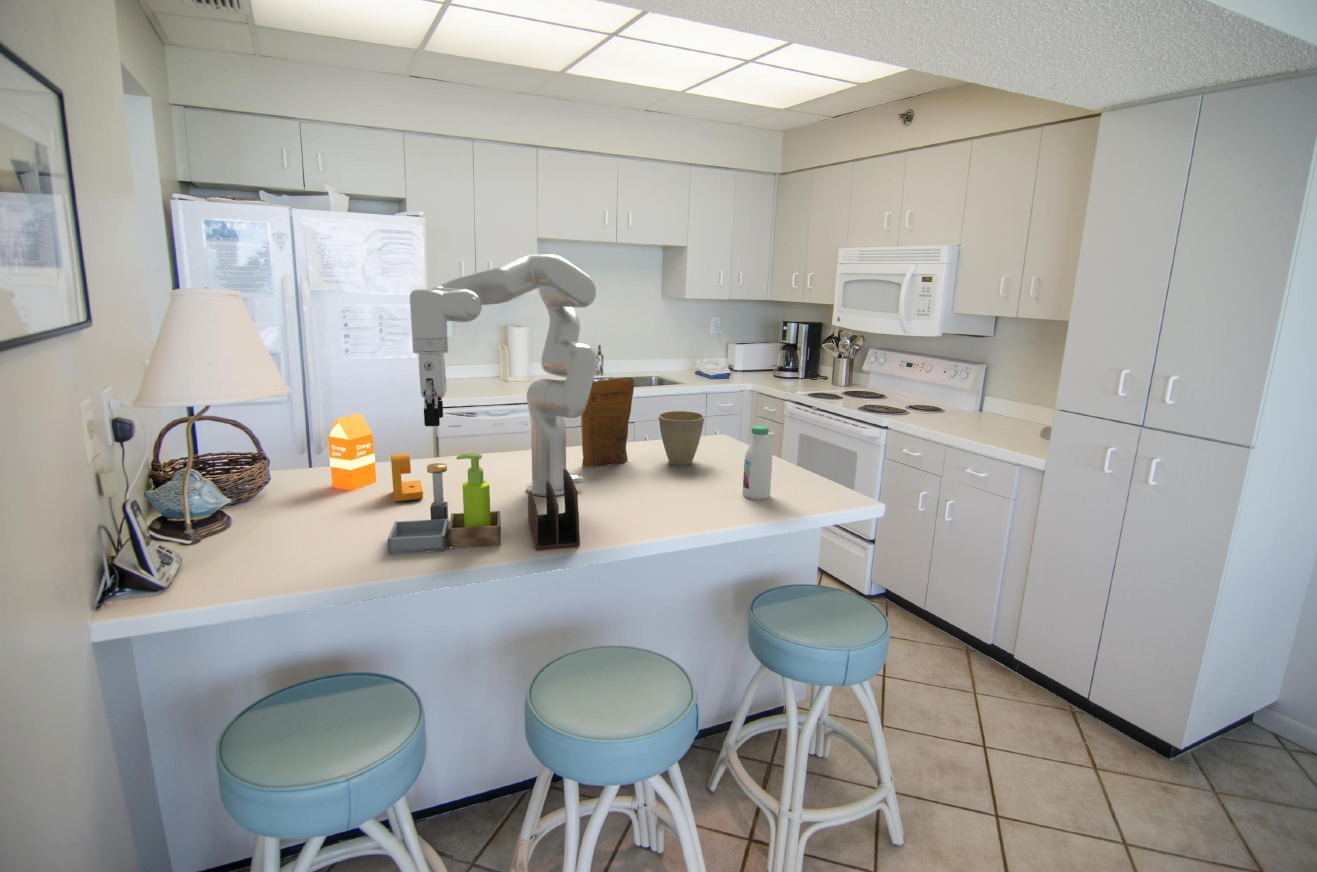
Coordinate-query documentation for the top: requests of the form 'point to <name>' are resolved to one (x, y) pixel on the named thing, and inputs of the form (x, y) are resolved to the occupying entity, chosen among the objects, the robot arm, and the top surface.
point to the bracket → (404, 489)
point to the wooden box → (474, 532)
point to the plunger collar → (439, 512)
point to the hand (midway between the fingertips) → (434, 421)
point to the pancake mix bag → (606, 422)
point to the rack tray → (418, 536)
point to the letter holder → (556, 518)
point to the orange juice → (351, 453)
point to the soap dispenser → (475, 495)
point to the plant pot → (681, 435)
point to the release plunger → (437, 482)
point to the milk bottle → (758, 465)
